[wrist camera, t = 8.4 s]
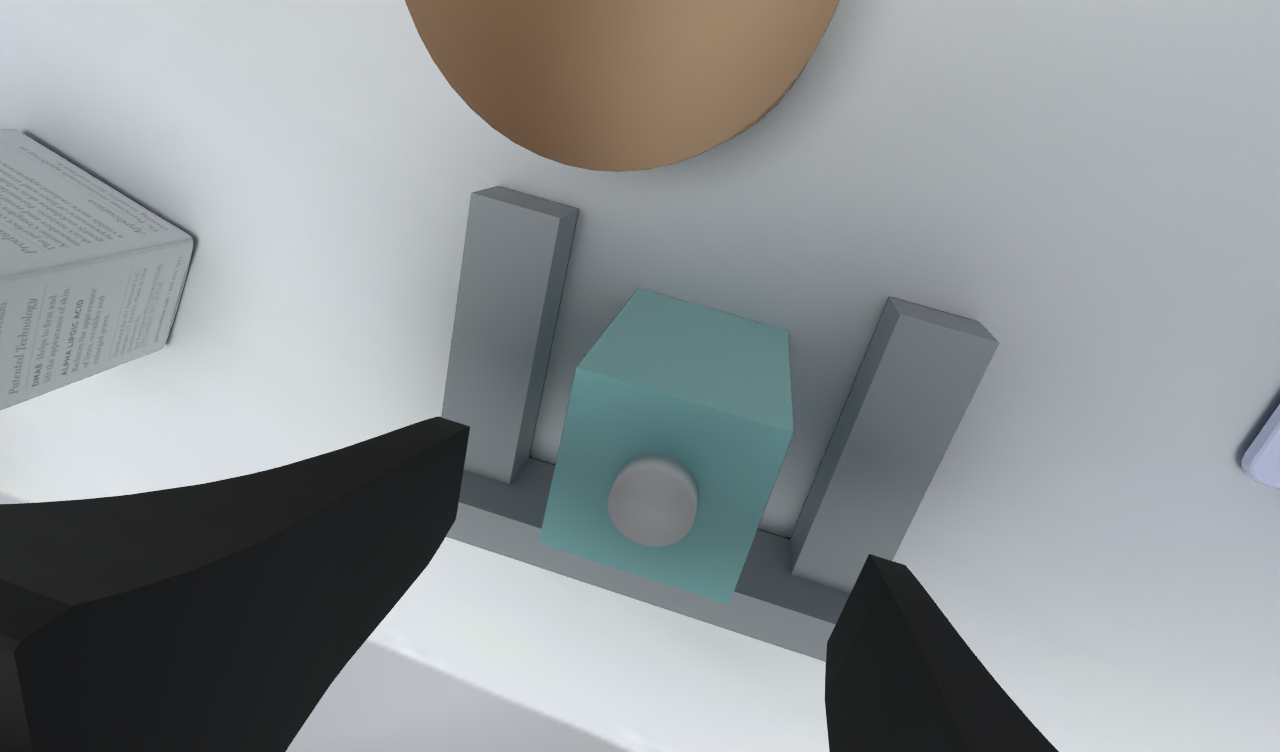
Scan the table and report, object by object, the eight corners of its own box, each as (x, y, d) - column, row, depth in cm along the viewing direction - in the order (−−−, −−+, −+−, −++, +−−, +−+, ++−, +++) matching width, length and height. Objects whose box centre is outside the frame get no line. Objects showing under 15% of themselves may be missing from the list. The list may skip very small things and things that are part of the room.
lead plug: (788, 330, 17) (794, 448, 11) (742, 460, 19) (726, 626, 13) (638, 287, 17) (566, 379, 11) (606, 419, 19) (528, 561, 13)
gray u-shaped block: (978, 321, 16) (1020, 364, 13) (849, 595, 20) (861, 673, 17) (497, 186, 17) (444, 200, 14) (455, 468, 21) (406, 523, 18)
